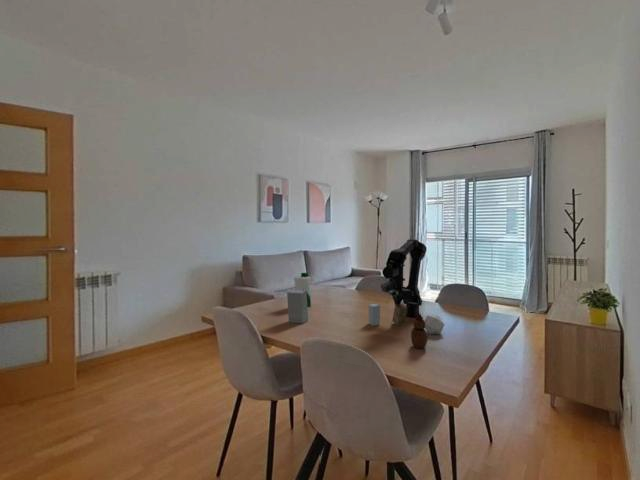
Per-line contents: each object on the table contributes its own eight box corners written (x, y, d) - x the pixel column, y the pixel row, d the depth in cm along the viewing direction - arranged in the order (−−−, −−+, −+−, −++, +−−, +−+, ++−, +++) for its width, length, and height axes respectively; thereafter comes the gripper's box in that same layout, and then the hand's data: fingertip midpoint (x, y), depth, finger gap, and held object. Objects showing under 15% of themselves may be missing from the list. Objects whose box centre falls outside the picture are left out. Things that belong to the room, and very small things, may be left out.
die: (440, 339, 149) (450, 319, 152) (423, 328, 150) (432, 309, 153) (434, 339, 157) (443, 321, 159) (417, 329, 158) (426, 311, 161)
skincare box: (308, 320, 175) (308, 290, 175) (301, 324, 169) (301, 292, 168) (293, 319, 179) (293, 289, 178) (287, 322, 172) (286, 291, 172)
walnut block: (399, 320, 172) (402, 303, 169) (403, 324, 168) (406, 307, 165) (392, 321, 170) (395, 304, 167) (396, 325, 167) (399, 308, 164)
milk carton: (312, 306, 206) (312, 273, 205) (303, 309, 199) (303, 275, 198) (301, 304, 211) (301, 272, 210) (292, 307, 204) (291, 273, 203)
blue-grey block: (375, 322, 172) (375, 303, 171) (379, 324, 168) (379, 305, 168) (368, 323, 170) (368, 304, 170) (372, 325, 167) (372, 306, 166)
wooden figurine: (409, 344, 141) (409, 308, 140) (422, 343, 141) (423, 307, 141) (415, 350, 134) (415, 312, 134) (429, 349, 135) (429, 312, 134)
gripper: (373, 274, 175) (373, 304, 175) (393, 280, 157) (393, 313, 158) (392, 273, 179) (392, 302, 179) (414, 278, 161) (413, 311, 162)
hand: (397, 307), depth 170 cm, fingers closed
